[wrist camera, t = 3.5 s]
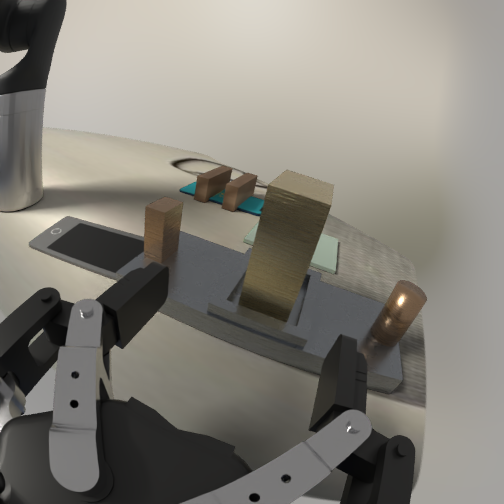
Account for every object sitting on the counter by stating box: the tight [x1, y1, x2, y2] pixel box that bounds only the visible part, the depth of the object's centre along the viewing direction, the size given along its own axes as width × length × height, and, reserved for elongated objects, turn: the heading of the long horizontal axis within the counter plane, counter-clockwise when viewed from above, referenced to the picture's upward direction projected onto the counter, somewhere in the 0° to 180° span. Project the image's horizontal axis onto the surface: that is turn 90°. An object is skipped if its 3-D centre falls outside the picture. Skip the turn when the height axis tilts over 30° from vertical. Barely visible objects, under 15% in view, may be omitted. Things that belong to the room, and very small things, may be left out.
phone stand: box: [194, 166, 257, 212], centre depth 47 cm, size 7×10×4 cm
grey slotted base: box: [116, 197, 427, 394], centre depth 23 cm, size 25×10×7 cm, turn 72°
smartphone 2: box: [180, 182, 264, 216], centre depth 48 cm, size 7×1×15 cm
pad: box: [244, 222, 338, 274], centre depth 38 cm, size 12×10×1 cm
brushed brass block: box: [238, 170, 334, 323], centre depth 21 cm, size 4×6×10 cm, turn 162°
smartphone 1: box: [29, 216, 144, 281], centre depth 27 cm, size 15×8×1 cm, turn 83°
